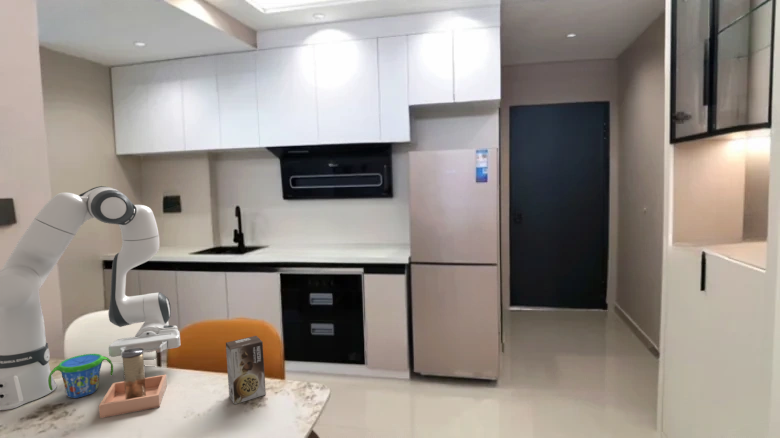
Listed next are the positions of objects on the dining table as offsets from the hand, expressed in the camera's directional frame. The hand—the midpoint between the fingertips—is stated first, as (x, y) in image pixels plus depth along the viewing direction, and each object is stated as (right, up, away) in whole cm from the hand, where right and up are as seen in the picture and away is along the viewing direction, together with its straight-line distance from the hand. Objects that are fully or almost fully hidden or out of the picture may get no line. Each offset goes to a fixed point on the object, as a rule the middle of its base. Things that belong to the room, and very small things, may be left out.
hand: (141, 352), depth 129 cm
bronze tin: (+4, -10, -10) cm, 15 cm away
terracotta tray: (+4, -11, -10) cm, 15 cm away
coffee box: (+36, -10, -9) cm, 38 cm away
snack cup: (-15, -11, -4) cm, 19 cm away
